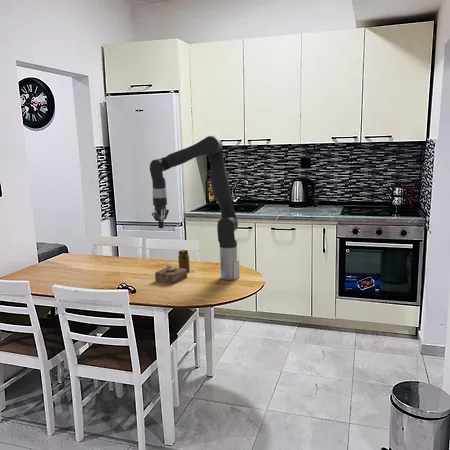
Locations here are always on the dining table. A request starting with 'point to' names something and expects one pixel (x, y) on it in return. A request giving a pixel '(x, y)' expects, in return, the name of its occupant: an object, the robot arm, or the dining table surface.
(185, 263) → the condiment
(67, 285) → the dining table surface
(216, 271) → the dining table surface
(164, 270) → the socket block
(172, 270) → the peg
